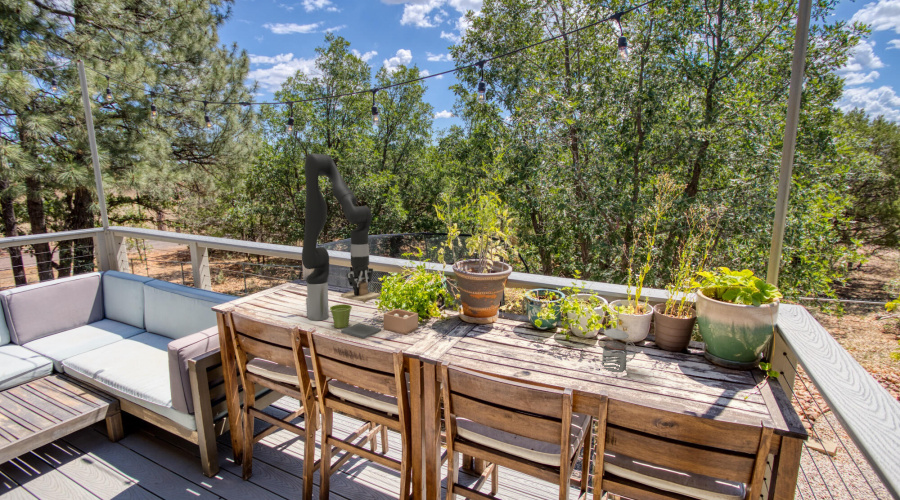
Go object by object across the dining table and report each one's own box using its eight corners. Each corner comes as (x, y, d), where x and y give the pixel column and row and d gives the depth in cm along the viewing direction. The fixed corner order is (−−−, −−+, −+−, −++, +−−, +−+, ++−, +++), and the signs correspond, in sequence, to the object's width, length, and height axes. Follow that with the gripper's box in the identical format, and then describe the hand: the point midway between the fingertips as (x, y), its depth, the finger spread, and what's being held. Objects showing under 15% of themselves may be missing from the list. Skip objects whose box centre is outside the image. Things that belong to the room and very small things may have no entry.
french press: (604, 362, 154) (609, 296, 150) (637, 372, 147) (644, 303, 142) (594, 371, 146) (599, 302, 142) (628, 382, 139) (635, 309, 135)
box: (383, 329, 183) (383, 313, 182) (396, 323, 191) (396, 308, 190) (405, 334, 177) (405, 319, 176) (417, 328, 185) (417, 313, 184)
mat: (341, 332, 179) (341, 330, 179) (359, 325, 188) (359, 322, 188) (363, 338, 172) (363, 336, 172) (381, 330, 181) (381, 328, 181)
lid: (341, 297, 177) (340, 282, 176) (357, 291, 185) (357, 278, 184) (364, 302, 170) (363, 287, 169) (380, 296, 178) (380, 282, 177)
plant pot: (339, 331, 180) (339, 312, 178) (326, 326, 185) (325, 307, 184) (356, 325, 187) (356, 307, 186) (343, 321, 193) (342, 303, 191)
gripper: (365, 251, 182) (365, 289, 185) (340, 255, 170) (341, 296, 173) (378, 252, 178) (378, 291, 181) (354, 257, 166) (355, 299, 169)
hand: (360, 293), depth 177 cm, fingers closed on lid, 4 cm apart
